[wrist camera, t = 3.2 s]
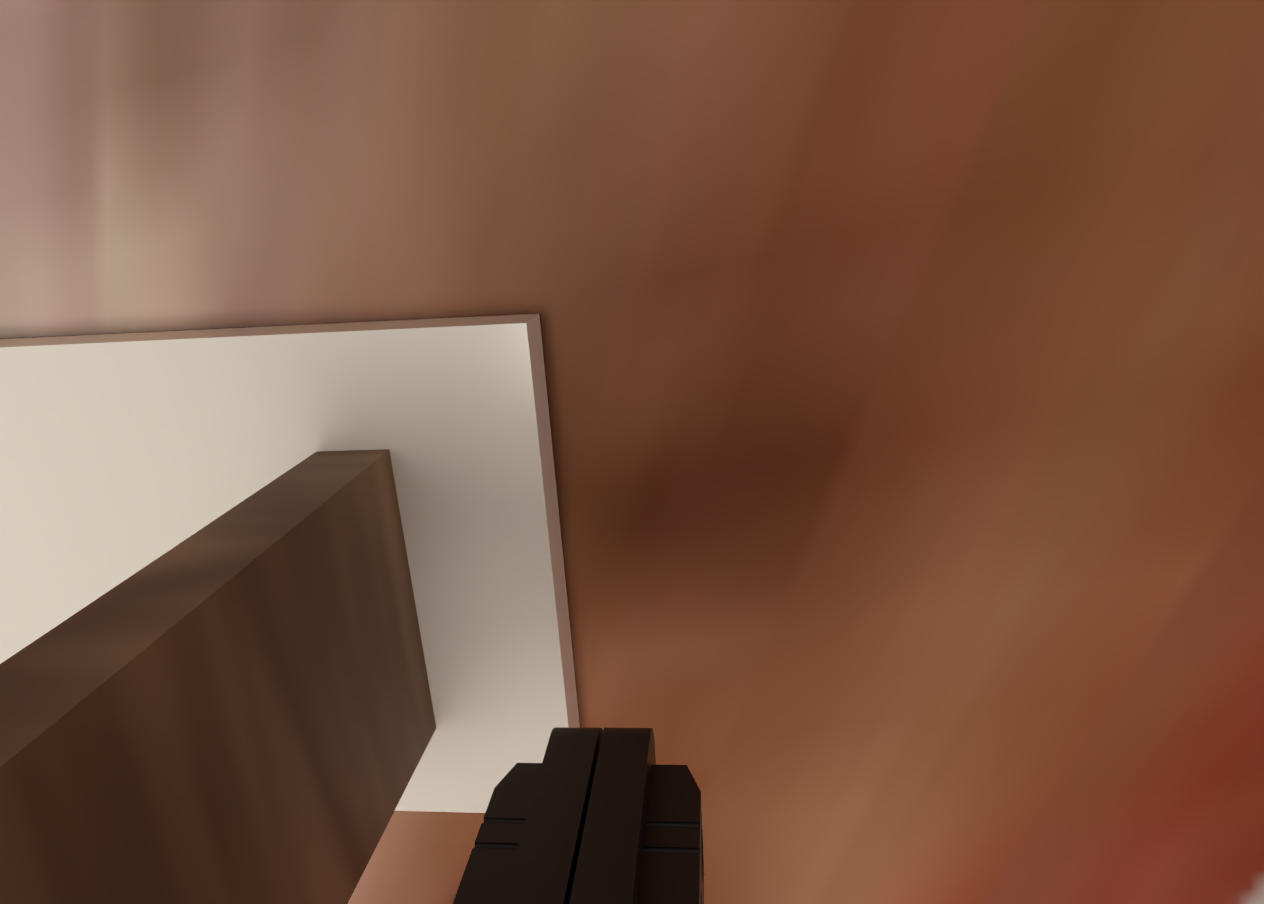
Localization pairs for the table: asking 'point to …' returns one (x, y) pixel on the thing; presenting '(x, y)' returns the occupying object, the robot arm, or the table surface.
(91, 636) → the wooden block
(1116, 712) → the table surface
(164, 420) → the board
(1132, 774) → the table surface
